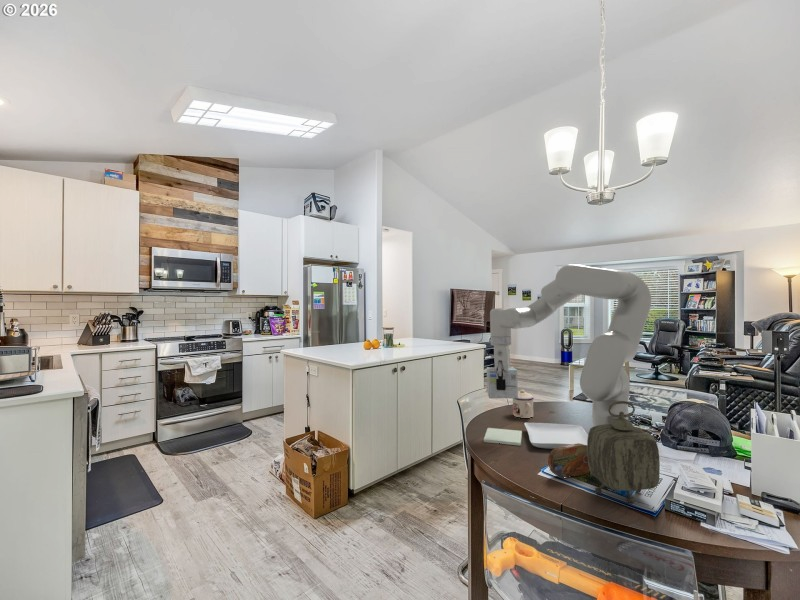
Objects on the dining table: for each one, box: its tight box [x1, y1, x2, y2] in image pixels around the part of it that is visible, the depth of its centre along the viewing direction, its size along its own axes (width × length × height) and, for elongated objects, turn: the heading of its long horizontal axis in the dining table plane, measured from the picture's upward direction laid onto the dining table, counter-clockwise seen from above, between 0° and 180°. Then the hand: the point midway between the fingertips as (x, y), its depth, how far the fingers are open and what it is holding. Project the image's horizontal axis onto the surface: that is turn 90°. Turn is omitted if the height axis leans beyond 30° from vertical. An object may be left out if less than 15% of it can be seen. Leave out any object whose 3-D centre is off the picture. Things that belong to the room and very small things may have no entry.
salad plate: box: [523, 422, 588, 450], centre depth 137 cm, size 21×21×3 cm
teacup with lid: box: [512, 389, 534, 419], centre depth 166 cm, size 12×9×12 cm
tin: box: [547, 443, 591, 479], centre depth 111 cm, size 15×3×8 cm, turn 106°
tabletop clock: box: [587, 401, 661, 504], centre depth 97 cm, size 14×9×25 cm, turn 92°
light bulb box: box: [486, 366, 519, 399], centre depth 142 cm, size 11×7×11 cm, turn 84°
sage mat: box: [483, 427, 523, 446], centre depth 142 cm, size 13×13×1 cm
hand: (502, 387), depth 142 cm, fingers closed on light bulb box, 7 cm apart
